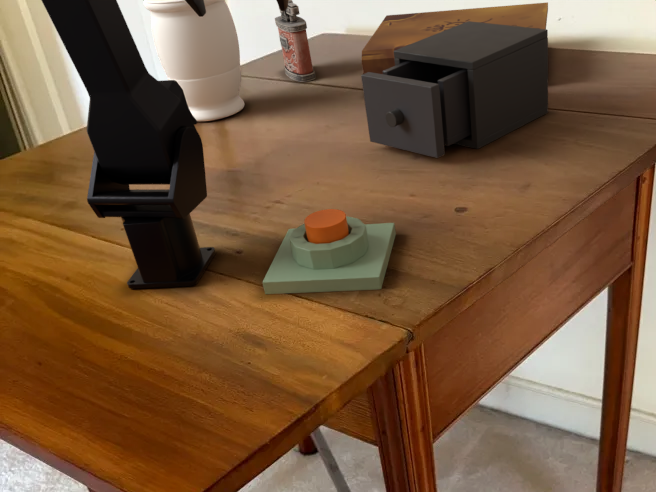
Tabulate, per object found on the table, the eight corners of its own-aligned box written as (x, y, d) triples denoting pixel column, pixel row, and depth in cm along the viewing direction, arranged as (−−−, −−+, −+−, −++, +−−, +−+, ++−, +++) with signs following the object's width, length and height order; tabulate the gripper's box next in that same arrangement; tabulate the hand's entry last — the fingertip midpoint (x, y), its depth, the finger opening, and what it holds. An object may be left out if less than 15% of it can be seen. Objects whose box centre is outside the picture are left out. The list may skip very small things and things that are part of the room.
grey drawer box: (477, 149, 89) (472, 62, 84) (402, 132, 97) (393, 50, 91) (548, 112, 96) (547, 29, 90) (472, 98, 103) (468, 20, 97)
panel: (381, 289, 68) (376, 257, 66) (265, 294, 69) (257, 262, 68) (396, 234, 75) (392, 203, 74) (291, 240, 77) (284, 210, 75)
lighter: (280, 71, 123) (266, -1, 117) (301, 66, 124) (288, -6, 118) (298, 83, 117) (284, 7, 111) (320, 77, 118) (307, 2, 112)
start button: (345, 245, 69) (341, 226, 68) (303, 247, 70) (300, 228, 69) (352, 226, 72) (349, 207, 71) (312, 228, 73) (308, 210, 72)
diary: (366, 98, 108) (360, 52, 105) (391, 57, 122) (386, 15, 119) (544, 86, 103) (543, 37, 100) (548, 44, 117) (547, 0, 114)
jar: (264, 98, 114) (239, -22, 105) (233, 124, 106) (203, -2, 97) (196, 100, 117) (166, -16, 108) (161, 126, 109) (126, 4, 100)
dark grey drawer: (429, 162, 86) (422, 91, 81) (362, 145, 92) (352, 78, 88) (506, 122, 92) (504, 54, 88) (438, 109, 99) (433, 45, 94)
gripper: (317, -208, 75) (351, -27, 86) (139, -182, 80) (193, -14, 91) (276, -173, 68) (319, 20, 79) (84, -146, 73) (150, 30, 84)
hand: (243, 12), depth 84 cm, fingers open, 9 cm apart
